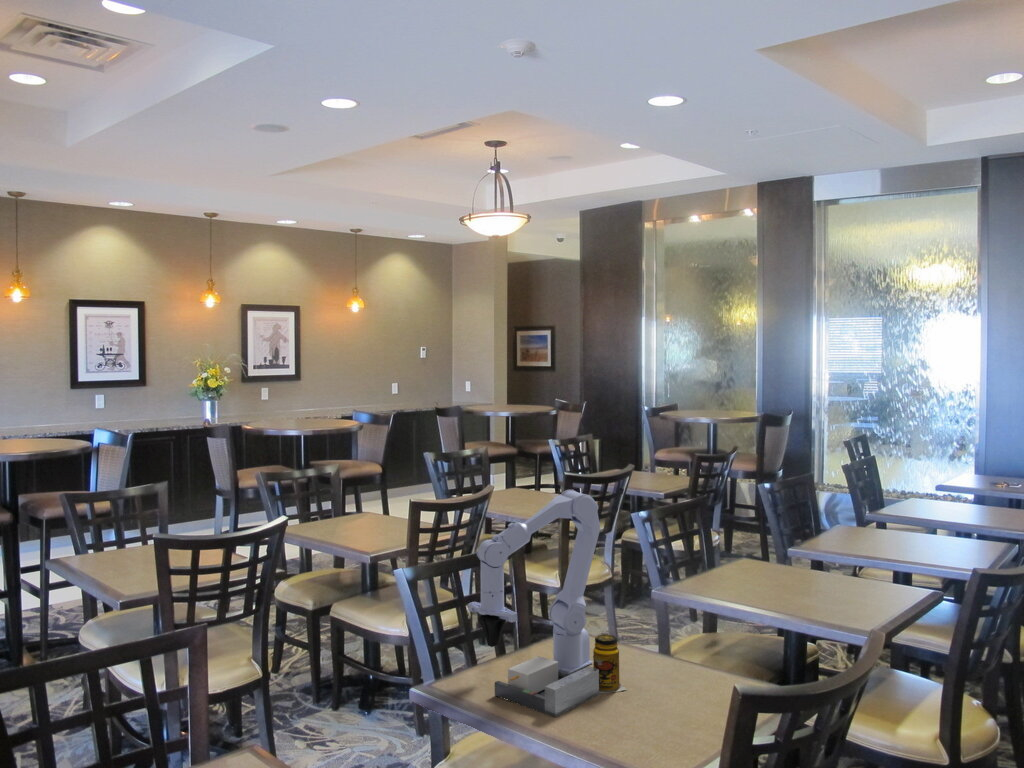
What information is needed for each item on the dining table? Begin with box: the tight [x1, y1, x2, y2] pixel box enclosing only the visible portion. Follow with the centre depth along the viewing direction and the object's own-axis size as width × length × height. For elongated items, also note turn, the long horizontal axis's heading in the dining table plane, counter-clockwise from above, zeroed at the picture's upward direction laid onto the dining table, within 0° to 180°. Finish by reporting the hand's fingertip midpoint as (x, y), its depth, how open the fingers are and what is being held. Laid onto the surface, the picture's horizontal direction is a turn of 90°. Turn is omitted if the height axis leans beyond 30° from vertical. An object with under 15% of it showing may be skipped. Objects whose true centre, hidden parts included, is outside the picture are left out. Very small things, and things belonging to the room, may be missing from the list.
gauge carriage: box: [507, 655, 558, 693], centre depth 194 cm, size 14×6×5 cm, turn 138°
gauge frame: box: [494, 665, 600, 718], centre depth 192 cm, size 16×18×6 cm
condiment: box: [592, 633, 628, 695], centre depth 198 cm, size 7×8×12 cm
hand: (492, 645), depth 203 cm, fingers closed
